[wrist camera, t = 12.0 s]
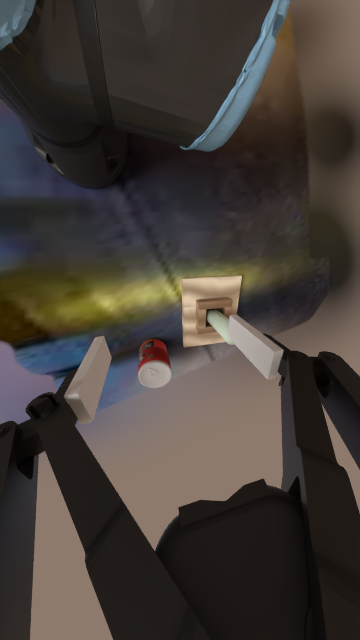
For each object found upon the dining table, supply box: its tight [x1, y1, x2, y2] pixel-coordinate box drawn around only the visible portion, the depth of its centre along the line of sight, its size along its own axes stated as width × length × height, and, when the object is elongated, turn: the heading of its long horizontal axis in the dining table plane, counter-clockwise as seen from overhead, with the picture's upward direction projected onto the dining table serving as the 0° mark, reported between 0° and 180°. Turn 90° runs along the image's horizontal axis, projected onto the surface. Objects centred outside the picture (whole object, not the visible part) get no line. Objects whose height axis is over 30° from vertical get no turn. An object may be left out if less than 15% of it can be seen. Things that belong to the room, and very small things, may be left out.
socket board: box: [182, 275, 242, 347], centre depth 43 cm, size 20×16×4 cm
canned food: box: [138, 339, 172, 388], centre depth 41 cm, size 8×8×11 cm
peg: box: [206, 308, 234, 344], centre depth 39 cm, size 4×4×14 cm
